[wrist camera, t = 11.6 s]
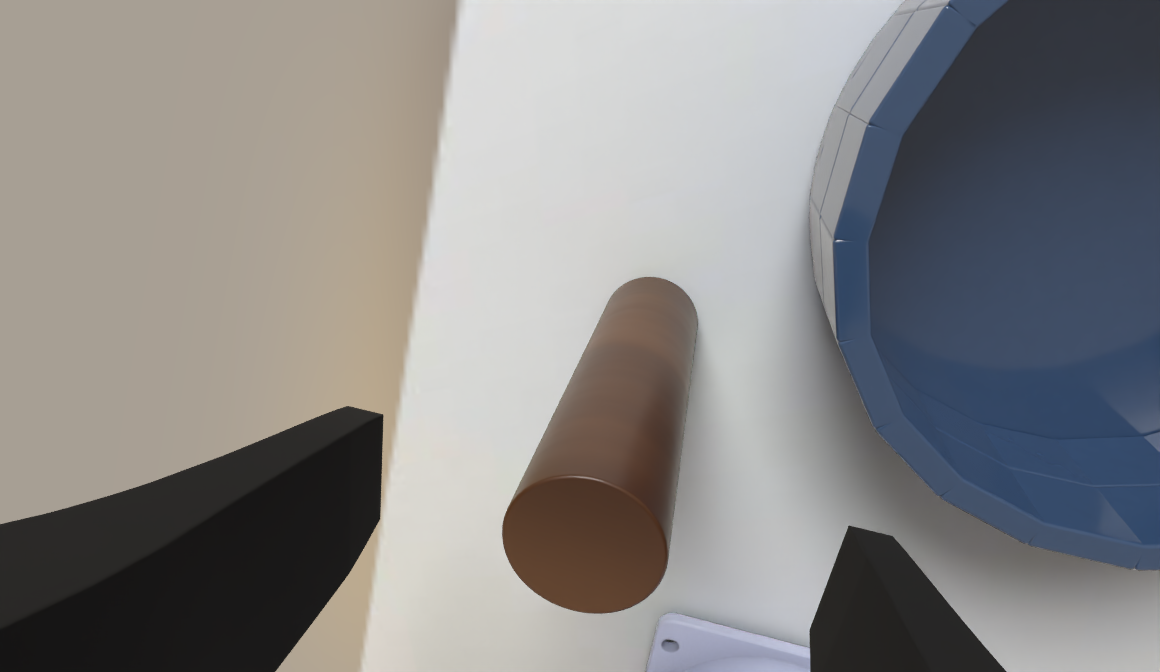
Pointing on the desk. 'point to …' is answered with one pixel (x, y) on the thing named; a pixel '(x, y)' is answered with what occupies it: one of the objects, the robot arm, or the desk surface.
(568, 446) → the stirring stick
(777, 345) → the desk surface
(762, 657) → the robot arm
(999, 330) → the bowl
